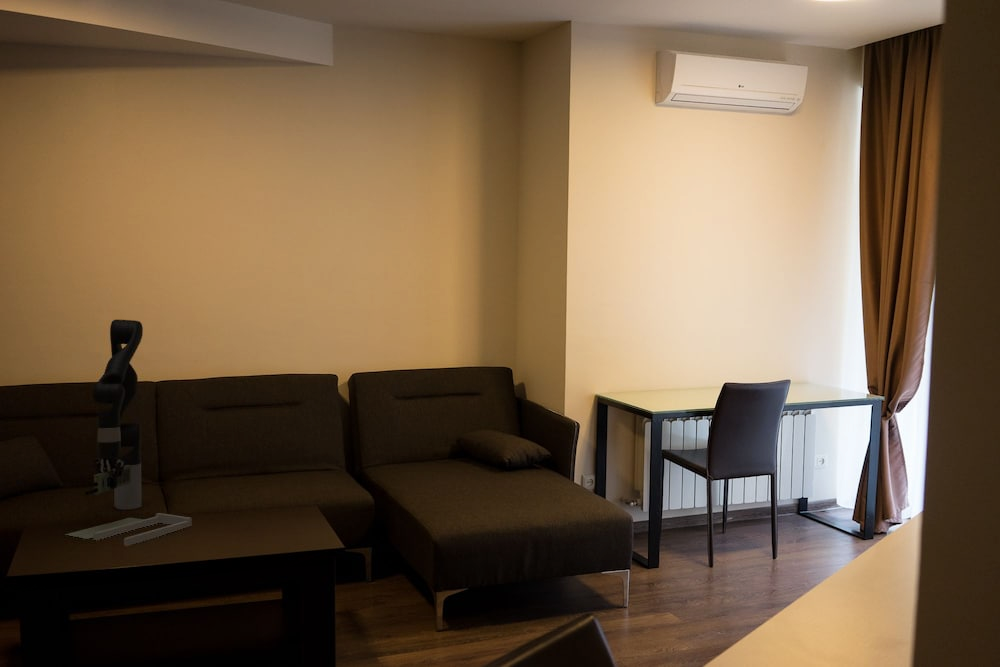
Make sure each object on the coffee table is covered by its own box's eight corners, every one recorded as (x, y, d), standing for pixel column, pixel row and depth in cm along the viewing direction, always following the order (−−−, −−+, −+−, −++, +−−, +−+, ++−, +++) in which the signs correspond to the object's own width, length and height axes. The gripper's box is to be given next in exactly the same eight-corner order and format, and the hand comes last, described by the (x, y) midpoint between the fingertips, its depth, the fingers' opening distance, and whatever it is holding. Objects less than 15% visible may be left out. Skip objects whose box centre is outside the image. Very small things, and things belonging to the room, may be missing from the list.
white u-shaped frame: (93, 540, 308) (93, 530, 308) (158, 522, 334) (158, 512, 334) (127, 546, 301) (127, 535, 301) (191, 527, 327) (191, 517, 327)
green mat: (64, 535, 314) (64, 534, 314) (130, 518, 339) (130, 517, 339) (87, 539, 309) (87, 538, 309) (151, 522, 334) (151, 520, 334)
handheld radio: (132, 483, 336) (91, 497, 311) (124, 482, 336) (82, 496, 312) (132, 465, 335) (91, 478, 311) (124, 464, 336) (82, 477, 311)
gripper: (131, 439, 323) (132, 488, 324) (104, 436, 330) (104, 484, 330) (114, 442, 317) (114, 492, 317) (86, 439, 323) (86, 488, 323)
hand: (109, 487), depth 324 cm, fingers closed on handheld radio, 3 cm apart
